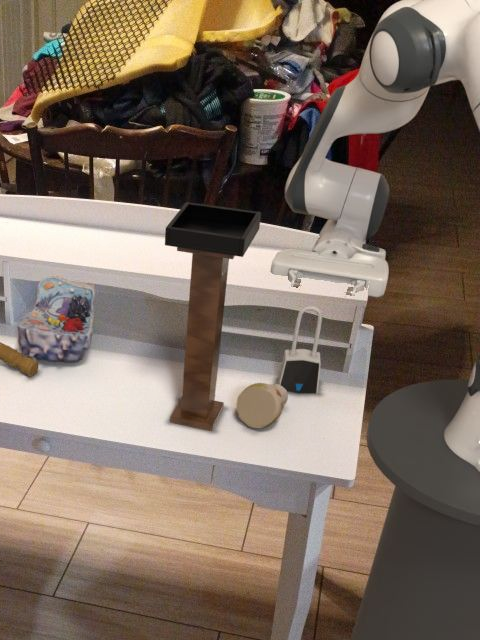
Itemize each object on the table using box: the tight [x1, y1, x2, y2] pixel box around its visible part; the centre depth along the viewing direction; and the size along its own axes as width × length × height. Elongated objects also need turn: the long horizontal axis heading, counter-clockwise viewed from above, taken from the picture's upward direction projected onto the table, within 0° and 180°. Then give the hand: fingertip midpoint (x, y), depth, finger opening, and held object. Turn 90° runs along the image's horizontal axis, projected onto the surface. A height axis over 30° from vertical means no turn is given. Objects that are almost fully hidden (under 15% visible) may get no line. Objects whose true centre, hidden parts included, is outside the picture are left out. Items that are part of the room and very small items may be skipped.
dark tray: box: [164, 201, 262, 258], centre depth 118 cm, size 11×10×2 cm
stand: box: [169, 247, 236, 432], centre depth 129 cm, size 8×8×30 cm
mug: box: [236, 382, 289, 429], centre depth 136 cm, size 8×10×10 cm
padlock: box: [277, 305, 323, 394], centre depth 140 cm, size 7×4×15 cm, turn 81°
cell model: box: [16, 275, 96, 363], centre depth 152 cm, size 13×11×20 cm
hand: (321, 291), depth 146 cm, fingers open, 8 cm apart
